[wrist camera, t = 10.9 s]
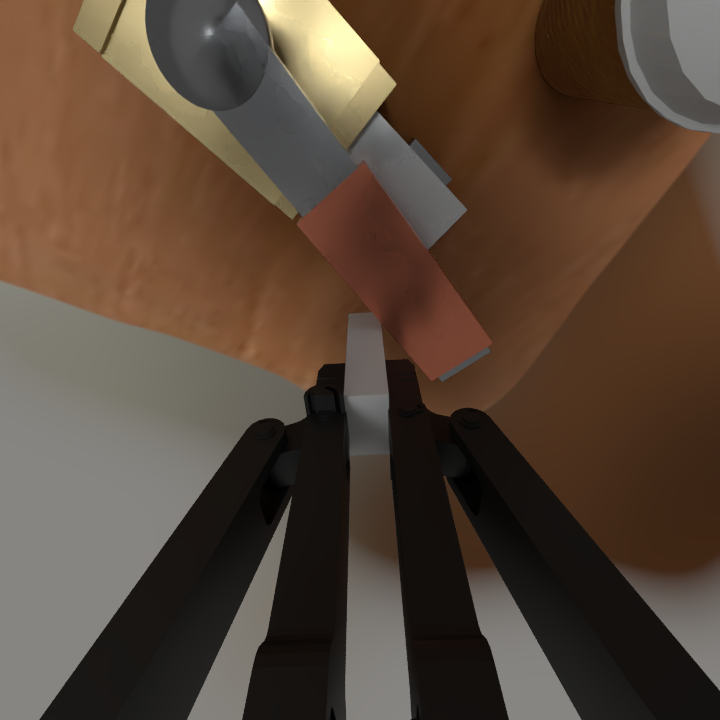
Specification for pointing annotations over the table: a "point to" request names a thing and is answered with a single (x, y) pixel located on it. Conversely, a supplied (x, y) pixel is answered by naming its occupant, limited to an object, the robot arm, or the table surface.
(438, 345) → the lever
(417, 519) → the robot arm
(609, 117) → the table surface
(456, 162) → the table surface
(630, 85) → the disposable coffee cup
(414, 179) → the bar with tan sleeve
